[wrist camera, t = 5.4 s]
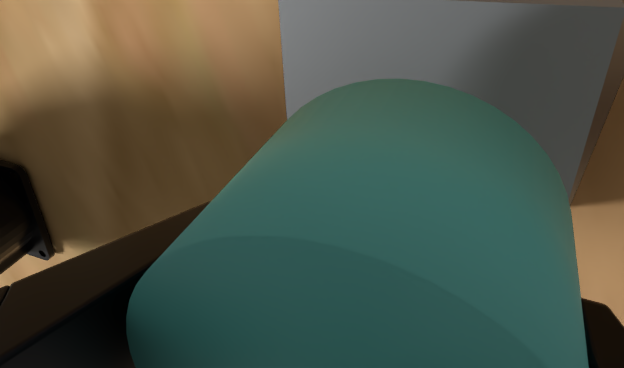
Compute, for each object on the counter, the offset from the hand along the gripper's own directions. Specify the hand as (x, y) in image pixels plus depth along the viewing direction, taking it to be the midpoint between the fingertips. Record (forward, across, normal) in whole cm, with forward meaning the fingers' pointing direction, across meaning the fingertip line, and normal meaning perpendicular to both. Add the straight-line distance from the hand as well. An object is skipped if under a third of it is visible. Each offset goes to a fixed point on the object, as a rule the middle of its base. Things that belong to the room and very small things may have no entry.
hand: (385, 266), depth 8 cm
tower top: (+7, 0, 0) cm, 7 cm away
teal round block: (+1, 0, 0) cm, 1 cm away
